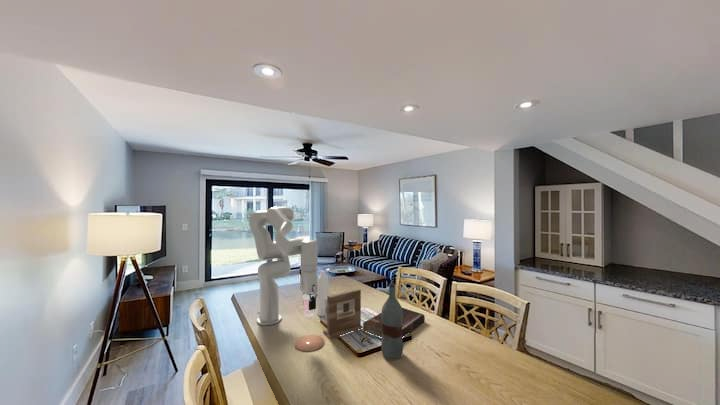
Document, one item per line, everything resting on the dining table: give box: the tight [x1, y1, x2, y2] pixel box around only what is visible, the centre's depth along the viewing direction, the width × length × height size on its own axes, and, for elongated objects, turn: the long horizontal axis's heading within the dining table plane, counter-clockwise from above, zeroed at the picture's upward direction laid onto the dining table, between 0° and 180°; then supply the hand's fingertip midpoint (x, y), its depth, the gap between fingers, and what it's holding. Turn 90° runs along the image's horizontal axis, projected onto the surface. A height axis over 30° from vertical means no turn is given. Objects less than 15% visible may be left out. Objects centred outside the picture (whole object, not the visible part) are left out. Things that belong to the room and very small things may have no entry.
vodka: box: [380, 283, 404, 361], centre depth 116 cm, size 9×9×30 cm
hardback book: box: [362, 307, 426, 337], centre depth 141 cm, size 29×19×5 cm, turn 140°
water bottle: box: [316, 268, 331, 317], centre depth 158 cm, size 9×6×25 cm
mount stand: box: [322, 288, 363, 340], centre depth 137 cm, size 10×18×20 cm, turn 124°
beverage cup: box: [302, 292, 316, 318], centre depth 125 cm, size 6×6×14 cm
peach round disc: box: [294, 334, 325, 352], centre depth 125 cm, size 13×13×1 cm
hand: (309, 306), depth 125 cm, fingers closed on beverage cup, 6 cm apart
